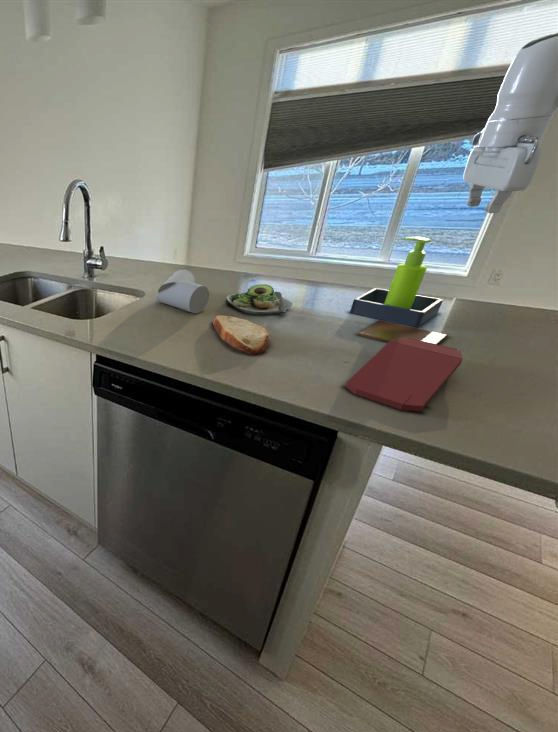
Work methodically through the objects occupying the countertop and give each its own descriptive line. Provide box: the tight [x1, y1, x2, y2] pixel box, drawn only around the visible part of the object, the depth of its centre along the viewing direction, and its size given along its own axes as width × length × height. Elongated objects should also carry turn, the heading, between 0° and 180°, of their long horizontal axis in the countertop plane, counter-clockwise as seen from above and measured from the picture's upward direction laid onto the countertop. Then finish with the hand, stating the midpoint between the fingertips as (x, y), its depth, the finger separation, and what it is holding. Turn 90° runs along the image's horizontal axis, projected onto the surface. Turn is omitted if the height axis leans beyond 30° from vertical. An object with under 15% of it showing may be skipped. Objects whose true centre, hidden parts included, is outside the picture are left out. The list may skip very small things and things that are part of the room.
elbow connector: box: [156, 269, 210, 314], centre depth 130 cm, size 18×11×20 cm
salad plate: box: [225, 283, 294, 316], centre depth 122 cm, size 19×18×5 cm
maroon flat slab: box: [345, 338, 464, 413], centre depth 82 cm, size 12×5×25 cm
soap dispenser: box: [384, 236, 432, 309], centre depth 106 cm, size 6×7×20 cm
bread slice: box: [212, 314, 272, 355], centre depth 105 cm, size 18×18×4 cm
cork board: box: [357, 319, 448, 345], centre depth 99 cm, size 14×12×1 cm
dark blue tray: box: [349, 287, 444, 328], centre depth 110 cm, size 16×14×4 cm
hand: (481, 209), depth 88 cm, fingers open, 8 cm apart
